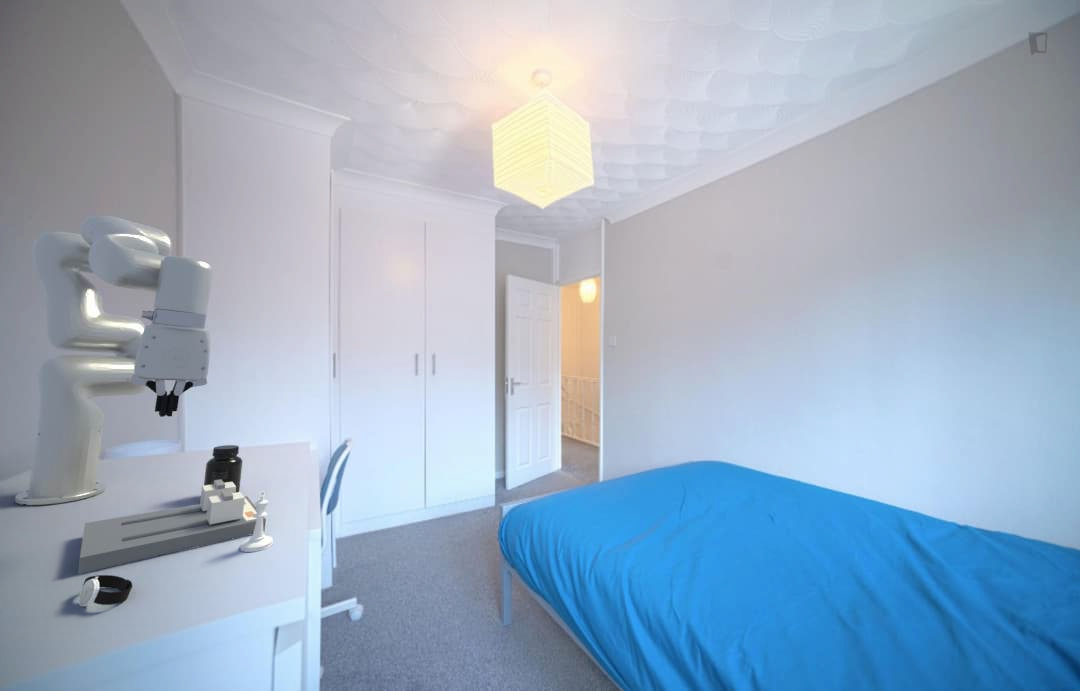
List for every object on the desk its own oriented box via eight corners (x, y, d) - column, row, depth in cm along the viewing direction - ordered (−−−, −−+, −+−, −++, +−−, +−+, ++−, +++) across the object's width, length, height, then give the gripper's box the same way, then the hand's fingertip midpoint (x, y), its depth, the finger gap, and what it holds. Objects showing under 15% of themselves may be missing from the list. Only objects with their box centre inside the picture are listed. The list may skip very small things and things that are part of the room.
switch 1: (199, 505, 80) (202, 481, 80) (229, 500, 84) (232, 477, 84) (202, 511, 77) (205, 487, 77) (234, 505, 81) (236, 482, 81)
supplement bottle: (246, 494, 95) (251, 445, 95) (220, 504, 88) (226, 451, 89) (221, 491, 96) (226, 442, 96) (193, 500, 89) (200, 448, 89)
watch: (67, 599, 54) (71, 573, 54) (114, 583, 58) (118, 558, 58) (93, 617, 51) (97, 589, 51) (141, 598, 55) (144, 572, 55)
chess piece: (237, 554, 68) (243, 497, 68) (243, 541, 72) (249, 488, 73) (270, 549, 70) (276, 494, 71) (274, 538, 75) (280, 486, 75)
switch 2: (205, 517, 75) (208, 492, 75) (238, 511, 78) (240, 487, 79) (209, 524, 72) (212, 498, 72) (242, 518, 76) (245, 493, 76)
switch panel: (83, 537, 70) (85, 522, 70) (245, 507, 87) (247, 495, 88) (77, 574, 59) (80, 556, 59) (264, 531, 77) (265, 518, 77)
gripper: (123, 315, 66) (107, 420, 66) (231, 327, 77) (218, 417, 77) (122, 314, 71) (106, 412, 71) (224, 325, 82) (211, 410, 82)
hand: (165, 415), depth 74 cm, fingers closed
